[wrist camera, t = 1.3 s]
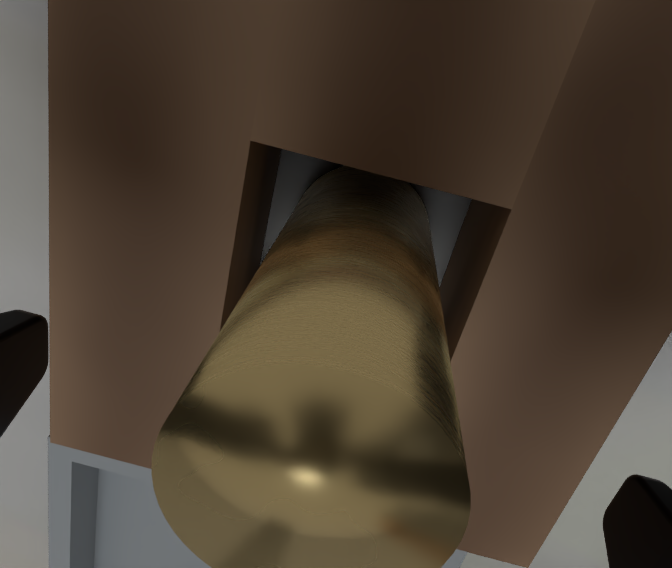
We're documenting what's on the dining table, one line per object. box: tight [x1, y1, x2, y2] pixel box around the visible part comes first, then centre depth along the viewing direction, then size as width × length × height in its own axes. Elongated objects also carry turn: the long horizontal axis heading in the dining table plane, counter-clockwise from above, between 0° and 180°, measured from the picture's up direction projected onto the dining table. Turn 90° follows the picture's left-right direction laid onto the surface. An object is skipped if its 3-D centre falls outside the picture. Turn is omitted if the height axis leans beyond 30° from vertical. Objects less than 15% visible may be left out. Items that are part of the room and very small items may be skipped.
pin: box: [151, 166, 471, 568], centre depth 11 cm, size 4×4×10 cm
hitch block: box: [48, 0, 672, 568], centre depth 14 cm, size 14×14×4 cm
